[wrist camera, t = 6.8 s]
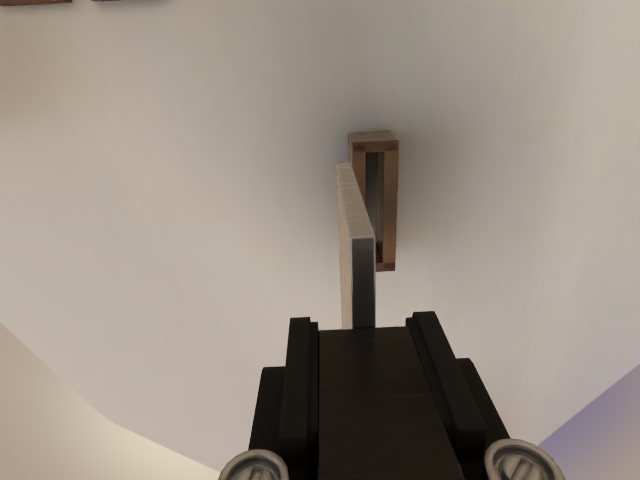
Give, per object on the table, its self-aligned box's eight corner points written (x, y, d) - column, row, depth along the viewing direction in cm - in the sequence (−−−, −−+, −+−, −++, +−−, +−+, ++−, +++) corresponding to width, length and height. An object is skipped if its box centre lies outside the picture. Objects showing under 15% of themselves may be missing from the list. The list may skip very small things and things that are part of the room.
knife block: (347, 132, 33) (351, 142, 30) (390, 130, 33) (398, 140, 30) (350, 251, 37) (353, 272, 34) (387, 250, 37) (395, 271, 34)
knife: (313, 163, 17) (305, 394, 5) (372, 160, 17) (501, 386, 5) (323, 328, 20) (331, 712, 8) (373, 326, 20) (454, 708, 8)
